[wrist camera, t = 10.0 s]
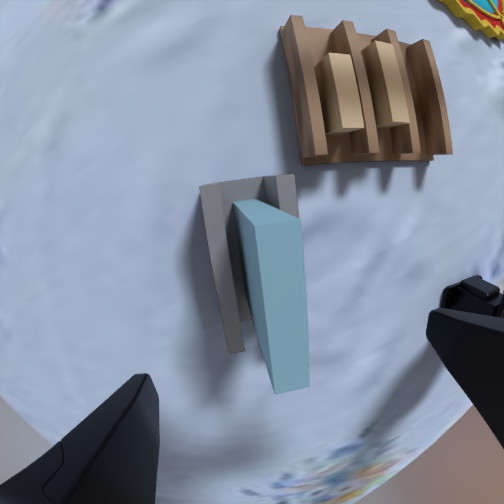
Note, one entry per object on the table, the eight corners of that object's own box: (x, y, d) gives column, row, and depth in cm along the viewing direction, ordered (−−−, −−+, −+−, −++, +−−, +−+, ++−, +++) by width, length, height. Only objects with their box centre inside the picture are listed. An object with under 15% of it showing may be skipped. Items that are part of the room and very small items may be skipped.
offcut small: (340, 134, 18) (364, 127, 15) (321, 135, 18) (342, 127, 15) (329, 71, 17) (350, 54, 14) (310, 70, 17) (328, 52, 14)
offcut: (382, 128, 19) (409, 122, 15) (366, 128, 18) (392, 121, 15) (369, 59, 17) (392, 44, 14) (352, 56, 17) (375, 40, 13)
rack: (430, 160, 20) (453, 160, 17) (301, 165, 19) (316, 163, 16) (408, 46, 17) (427, 36, 14) (279, 29, 16) (289, 10, 13)
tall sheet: (267, 296, 21) (309, 386, 11) (246, 300, 20) (274, 394, 11) (255, 199, 19) (300, 219, 9) (232, 202, 19) (254, 226, 9)
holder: (290, 308, 22) (307, 338, 17) (225, 320, 21) (228, 353, 17) (276, 175, 19) (294, 173, 15) (202, 185, 18) (199, 186, 14)
